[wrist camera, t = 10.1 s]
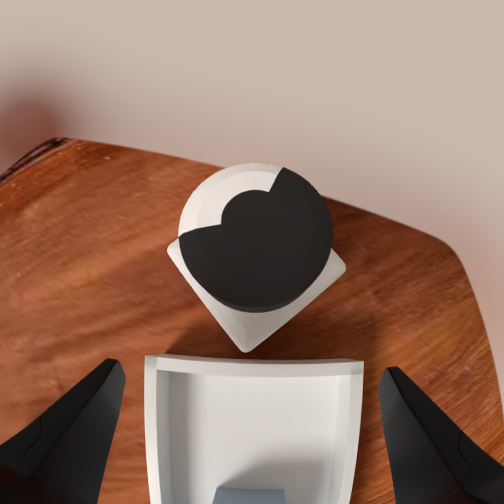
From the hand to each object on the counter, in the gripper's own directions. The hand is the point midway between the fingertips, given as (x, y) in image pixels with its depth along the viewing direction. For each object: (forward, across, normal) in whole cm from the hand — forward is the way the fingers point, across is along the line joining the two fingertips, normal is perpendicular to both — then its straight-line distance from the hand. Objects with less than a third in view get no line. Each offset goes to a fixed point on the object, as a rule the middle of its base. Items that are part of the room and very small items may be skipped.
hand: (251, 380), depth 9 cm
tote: (+2, 0, +15) cm, 15 cm away
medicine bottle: (+13, 0, +5) cm, 14 cm away
